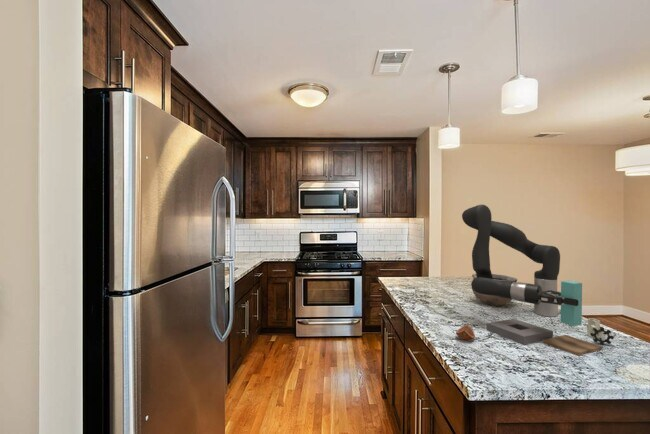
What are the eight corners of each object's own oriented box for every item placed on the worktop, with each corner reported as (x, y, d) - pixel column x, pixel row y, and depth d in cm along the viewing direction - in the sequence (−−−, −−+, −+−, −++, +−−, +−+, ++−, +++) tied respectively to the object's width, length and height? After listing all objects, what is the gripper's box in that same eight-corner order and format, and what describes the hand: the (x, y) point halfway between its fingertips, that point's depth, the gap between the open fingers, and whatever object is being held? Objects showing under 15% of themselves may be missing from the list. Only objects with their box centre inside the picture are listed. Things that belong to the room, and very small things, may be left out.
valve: (581, 333, 128) (590, 343, 117) (581, 316, 128) (590, 325, 117) (602, 336, 125) (614, 347, 114) (602, 319, 125) (614, 328, 114)
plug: (568, 321, 117) (568, 280, 117) (581, 324, 113) (582, 282, 113) (560, 322, 116) (561, 281, 116) (573, 326, 112) (574, 283, 112)
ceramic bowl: (462, 299, 179) (462, 273, 179) (493, 297, 186) (493, 271, 186) (494, 310, 158) (494, 280, 158) (527, 307, 164) (527, 278, 164)
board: (565, 337, 123) (565, 334, 123) (602, 349, 112) (602, 346, 112) (541, 342, 117) (541, 340, 117) (577, 355, 106) (577, 352, 106)
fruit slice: (472, 345, 115) (473, 331, 115) (453, 341, 119) (453, 327, 119) (476, 338, 122) (476, 325, 122) (458, 334, 126) (458, 321, 126)
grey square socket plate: (513, 325, 136) (513, 318, 136) (552, 338, 121) (552, 330, 121) (486, 330, 130) (486, 323, 130) (524, 344, 115) (524, 336, 115)
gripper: (520, 285, 120) (576, 294, 108) (531, 281, 130) (584, 288, 118) (520, 305, 120) (576, 316, 108) (531, 299, 130) (583, 308, 118)
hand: (579, 301), depth 113 cm, fingers closed on plug, 5 cm apart
